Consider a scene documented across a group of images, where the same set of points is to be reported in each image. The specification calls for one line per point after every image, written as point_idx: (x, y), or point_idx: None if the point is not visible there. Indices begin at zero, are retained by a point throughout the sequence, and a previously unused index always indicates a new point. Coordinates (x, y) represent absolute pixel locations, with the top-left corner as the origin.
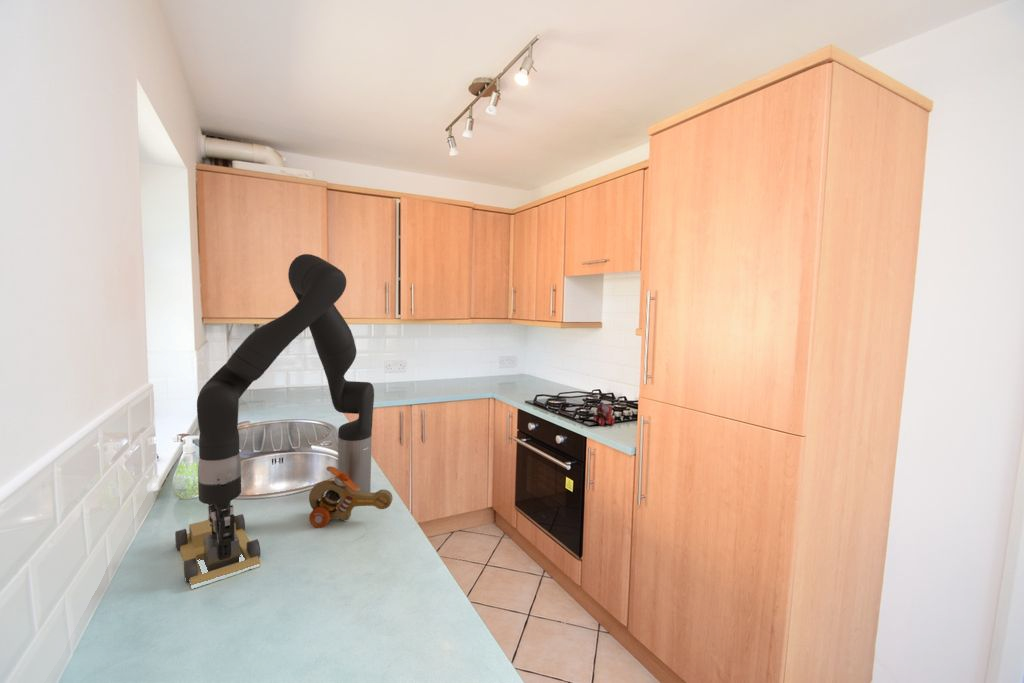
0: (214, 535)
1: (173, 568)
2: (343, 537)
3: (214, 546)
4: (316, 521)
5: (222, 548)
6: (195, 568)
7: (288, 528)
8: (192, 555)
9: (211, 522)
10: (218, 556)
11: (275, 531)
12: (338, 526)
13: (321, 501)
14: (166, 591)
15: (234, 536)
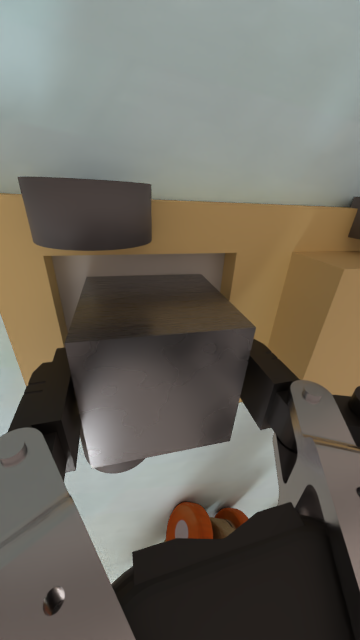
0: (225, 375)
1: (238, 156)
2: (97, 543)
3: (83, 375)
4: (183, 523)
5: (15, 417)
6: (32, 233)
7: (221, 460)
8: (246, 240)
9: (314, 422)
10: (63, 354)
11: (230, 439)
12: (154, 530)
13: None
14: (32, 68)
15: (144, 450)
